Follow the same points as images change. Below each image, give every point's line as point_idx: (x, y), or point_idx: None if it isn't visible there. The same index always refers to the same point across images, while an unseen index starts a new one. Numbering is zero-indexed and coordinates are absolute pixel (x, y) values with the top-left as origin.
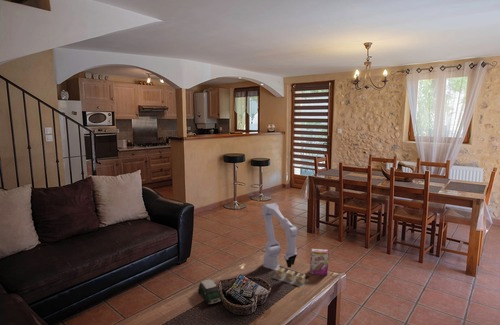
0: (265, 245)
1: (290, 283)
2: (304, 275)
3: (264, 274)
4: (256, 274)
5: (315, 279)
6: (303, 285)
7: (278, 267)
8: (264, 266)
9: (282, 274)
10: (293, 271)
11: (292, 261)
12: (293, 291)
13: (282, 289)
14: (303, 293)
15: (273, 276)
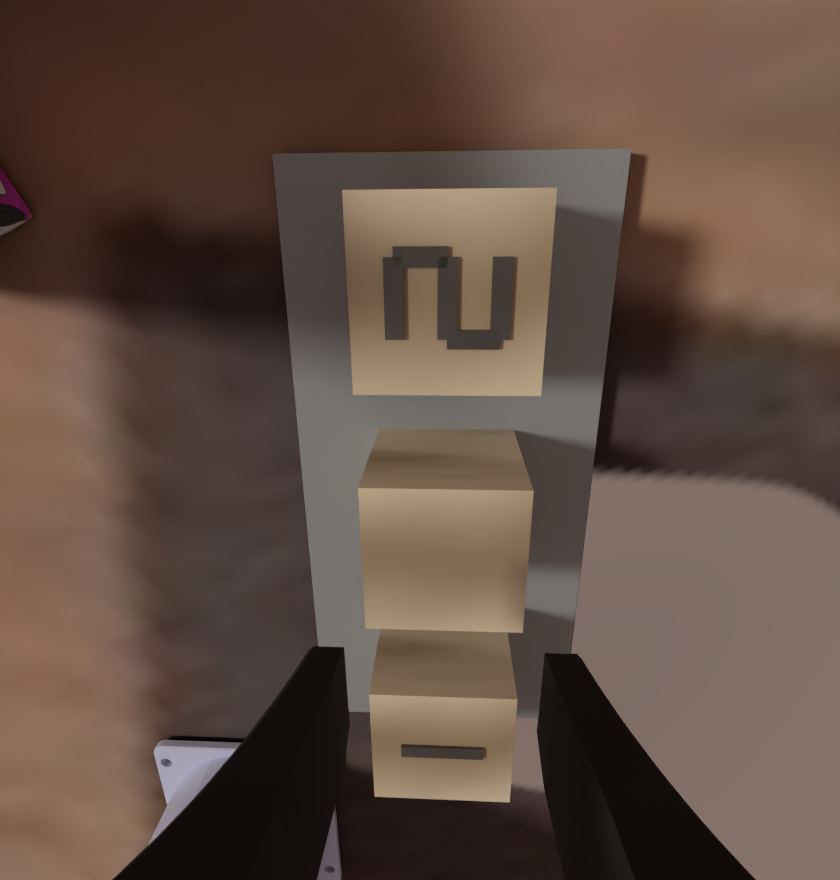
0: None
1: (596, 426)
2: (406, 196)
3: (503, 807)
4: (555, 870)
5: (127, 27)
6: (556, 164)
7: (396, 793)
8: (328, 874)
9: (485, 644)
10: (375, 519)
11: (317, 777)
12: (819, 277)
13: (816, 472)
14: (831, 48)
15: (517, 713)
